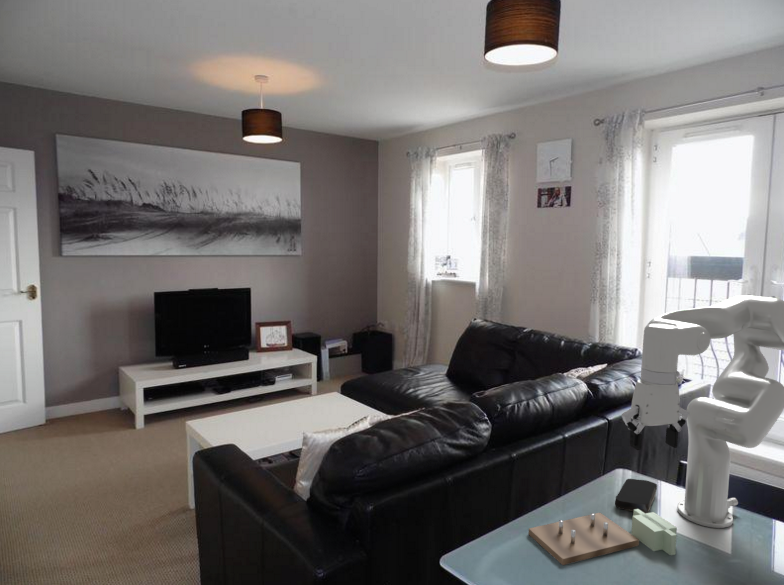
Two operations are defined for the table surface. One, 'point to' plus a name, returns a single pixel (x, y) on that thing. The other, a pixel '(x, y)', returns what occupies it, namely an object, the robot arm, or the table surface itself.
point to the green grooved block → (654, 531)
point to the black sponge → (636, 495)
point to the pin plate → (582, 538)
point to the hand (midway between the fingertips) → (653, 446)
